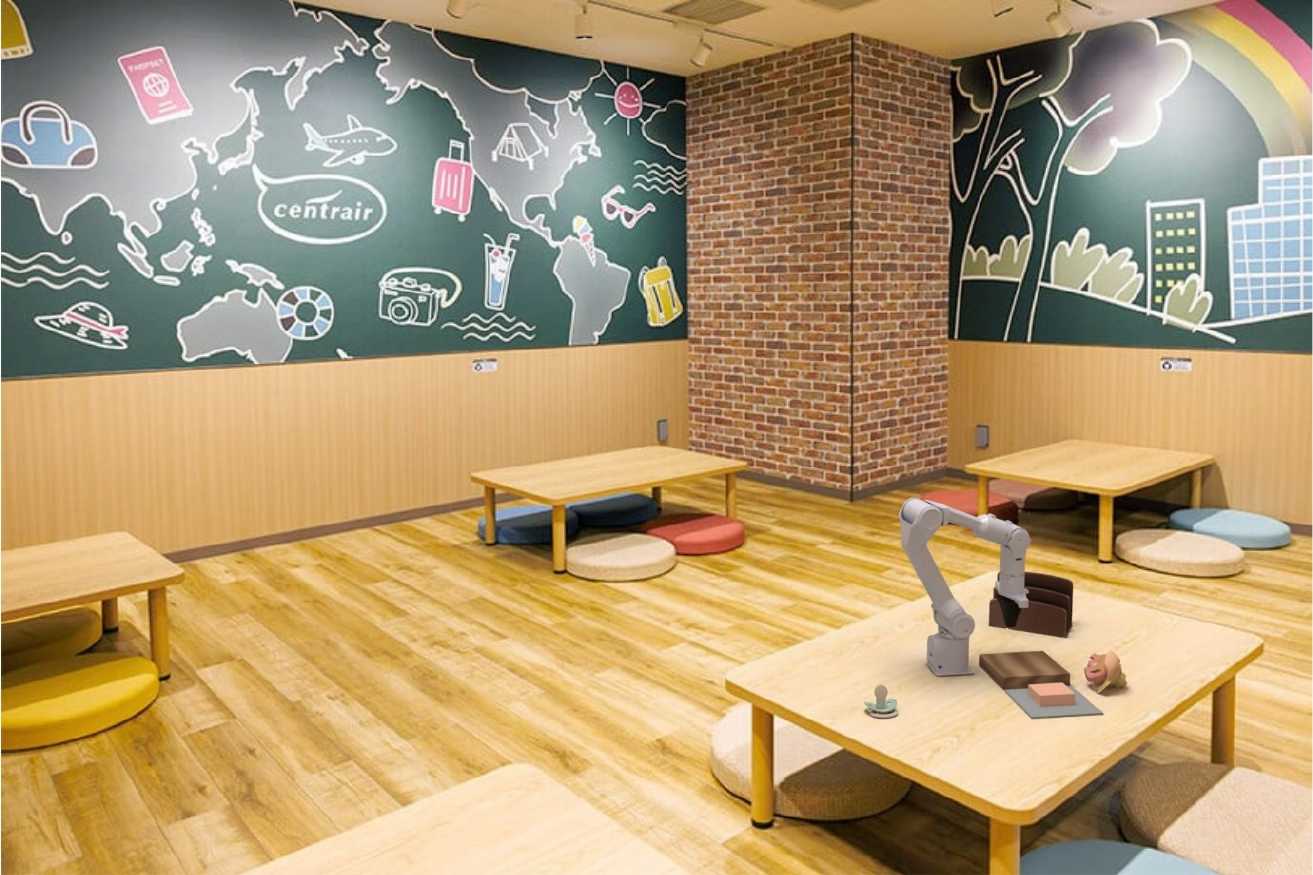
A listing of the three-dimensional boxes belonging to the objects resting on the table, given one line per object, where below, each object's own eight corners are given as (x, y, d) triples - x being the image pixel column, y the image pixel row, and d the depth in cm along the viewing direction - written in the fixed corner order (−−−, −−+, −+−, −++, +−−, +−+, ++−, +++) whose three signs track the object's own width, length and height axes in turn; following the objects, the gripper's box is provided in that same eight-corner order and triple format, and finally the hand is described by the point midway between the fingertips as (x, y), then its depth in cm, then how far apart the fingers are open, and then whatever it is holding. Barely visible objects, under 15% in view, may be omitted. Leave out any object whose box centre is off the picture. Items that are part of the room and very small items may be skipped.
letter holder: (996, 615, 274) (998, 566, 271) (1072, 626, 264) (1074, 576, 261) (988, 626, 266) (989, 576, 263) (1065, 639, 255) (1068, 587, 253)
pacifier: (903, 718, 214) (892, 705, 220) (904, 691, 213) (893, 679, 218) (871, 721, 213) (861, 708, 218) (872, 695, 211) (862, 683, 217)
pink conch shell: (1119, 680, 230) (1143, 664, 223) (1106, 712, 224) (1130, 697, 217) (1084, 657, 232) (1107, 640, 224) (1071, 688, 226) (1093, 672, 219)
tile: (1028, 684, 221) (1027, 694, 222) (1040, 695, 215) (1039, 706, 216) (1062, 682, 222) (1061, 692, 222) (1075, 693, 216) (1074, 704, 216)
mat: (1031, 718, 211) (1031, 717, 211) (1004, 691, 225) (1004, 689, 225) (1103, 714, 212) (1103, 712, 212) (1071, 687, 226) (1072, 685, 226)
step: (1002, 689, 226) (1003, 677, 225) (979, 665, 240) (979, 654, 239) (1069, 685, 227) (1070, 673, 226) (1042, 662, 241) (1042, 650, 240)
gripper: (1041, 581, 230) (1039, 636, 233) (1015, 563, 244) (1013, 615, 247) (1012, 582, 230) (1010, 637, 232) (987, 564, 244) (986, 616, 246)
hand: (1010, 626), depth 239 cm, fingers closed
